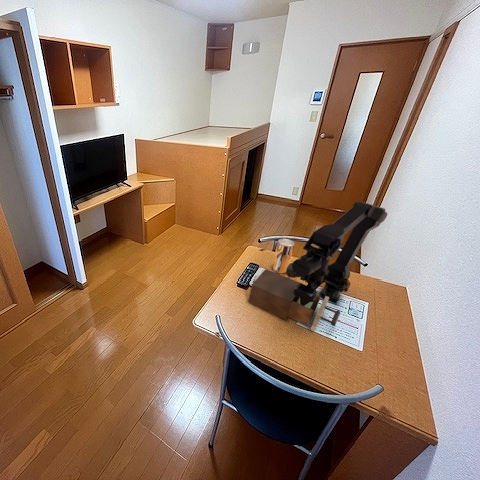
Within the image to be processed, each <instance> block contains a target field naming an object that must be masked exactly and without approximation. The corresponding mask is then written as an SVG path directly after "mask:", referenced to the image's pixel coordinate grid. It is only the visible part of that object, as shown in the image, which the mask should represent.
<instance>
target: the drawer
mask: <svg viewBox="0 0 480 480" xmlns="http://www.w3.org/2000/svg"><path fill="white" fill-rule="evenodd" d="M299 298H300V297H297V296H295V298H294V299H293V301H292V302H291V306H290V309H289V312H288V315H287V316H288V317H287V318H290V319H292V320H293V321H296V322H298V323H300V324H301V325H304V326H306V327H307V326H309V324H310V322H311V320H312V318H313V316H314V314H315V312H316V310H317V308H318V305H319V302H320V300H321V296H320V295H319V294H318V293H317V295H316V297H315V299H314V301H313V304H312V307H311V309H310V308H307V307H305V306H303V305H301V304H298V303H296V302H297V301H298V299H299ZM322 300H323V301H321V304H320V306H319V308H318V310H317V312H316V314H315V317H314V320H313V322H312V324H311V327H310V331H312V332H315V330H316V329H317V326H318V324H319V322H320V320H322V321H325V322H327V323H329V324H330V325H331V326H333V327H335V326H336V325H337V322H338V320H339V317H340V315H341V311H340V310H335V309H333V308H330V307H327V305H328V302H329V301H328V300H329V297H327V296H325V298H324V299H322ZM325 310H327V311H329V312H332V313H334V314H333V316H332V319H331V320H330V319H328V318H325V317H323V314H324V312H325Z"/></svg>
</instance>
